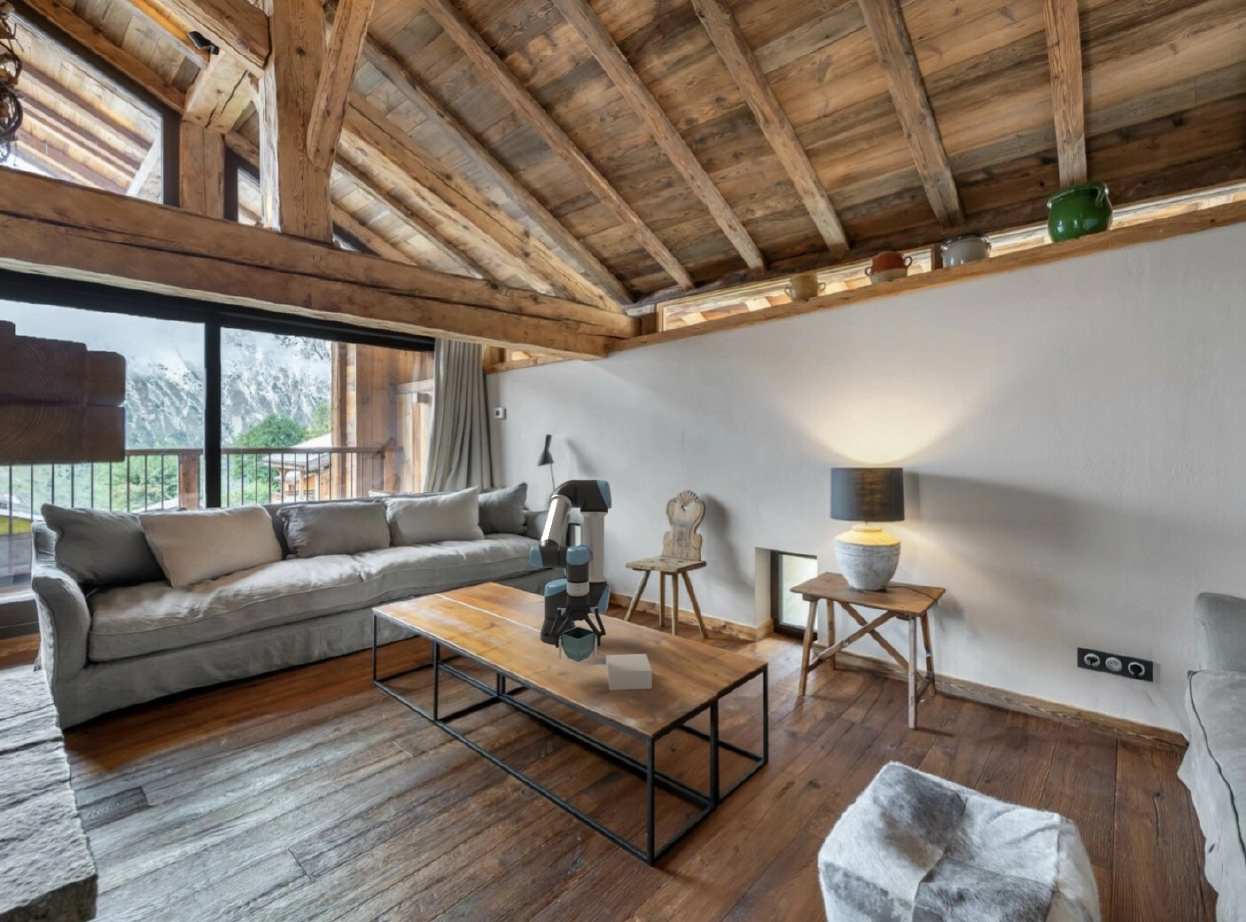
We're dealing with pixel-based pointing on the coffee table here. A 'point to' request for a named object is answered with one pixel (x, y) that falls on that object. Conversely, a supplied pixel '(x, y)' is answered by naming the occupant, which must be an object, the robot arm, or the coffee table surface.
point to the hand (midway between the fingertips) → (578, 656)
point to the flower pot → (578, 643)
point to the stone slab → (628, 672)
